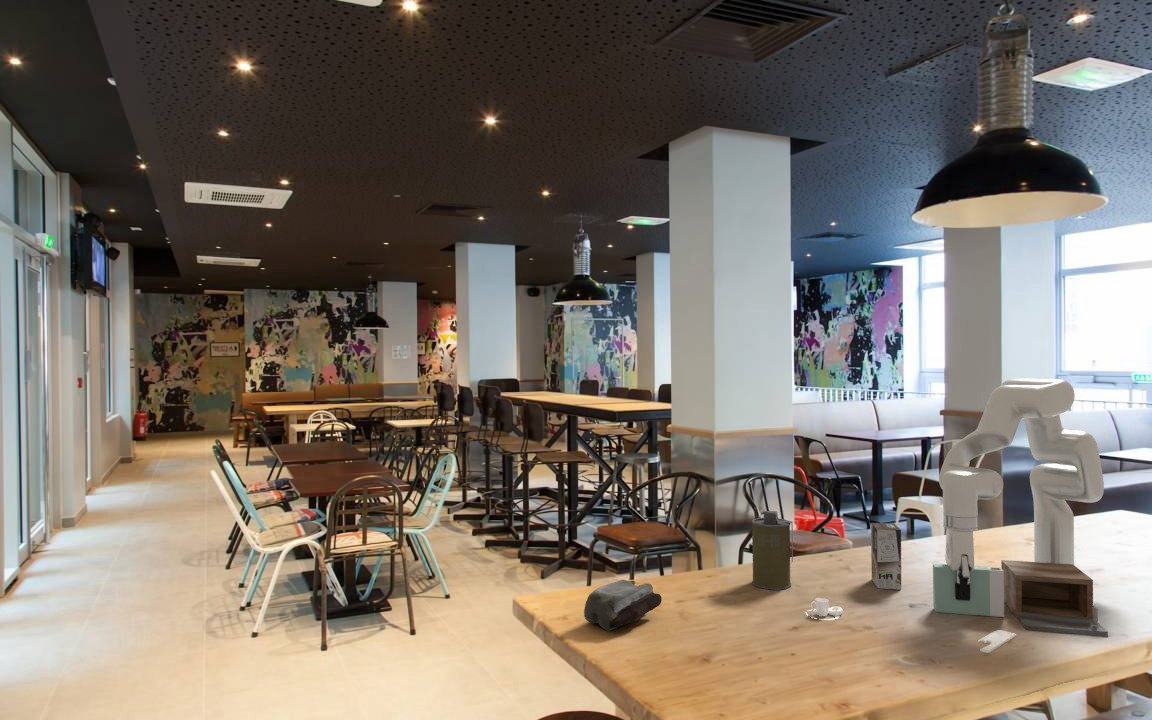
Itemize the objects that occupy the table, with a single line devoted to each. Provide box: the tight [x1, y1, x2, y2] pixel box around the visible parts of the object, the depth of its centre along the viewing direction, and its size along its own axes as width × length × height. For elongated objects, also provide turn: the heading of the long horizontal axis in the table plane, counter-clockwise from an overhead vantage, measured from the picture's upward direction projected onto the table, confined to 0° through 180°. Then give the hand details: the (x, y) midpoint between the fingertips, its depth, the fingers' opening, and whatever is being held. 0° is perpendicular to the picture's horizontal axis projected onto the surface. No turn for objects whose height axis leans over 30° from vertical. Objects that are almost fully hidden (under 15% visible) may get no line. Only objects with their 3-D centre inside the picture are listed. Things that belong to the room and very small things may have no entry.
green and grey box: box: [932, 563, 1005, 618], centre depth 186 cm, size 3×15×11 cm, turn 73°
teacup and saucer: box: [804, 597, 844, 621], centre depth 185 cm, size 9×8×4 cm
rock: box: [583, 579, 663, 631], centre depth 181 cm, size 20×12×8 cm, turn 142°
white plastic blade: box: [977, 629, 1017, 654], centre depth 167 cm, size 5×15×1 cm, turn 130°
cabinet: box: [1000, 559, 1109, 637], centre depth 183 cm, size 23×16×10 cm
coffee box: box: [870, 522, 902, 590], centre depth 210 cm, size 9×6×16 cm
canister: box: [751, 510, 794, 591], centre depth 210 cm, size 11×10×20 cm
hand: (961, 596), depth 186 cm, fingers closed on green and grey box, 3 cm apart
